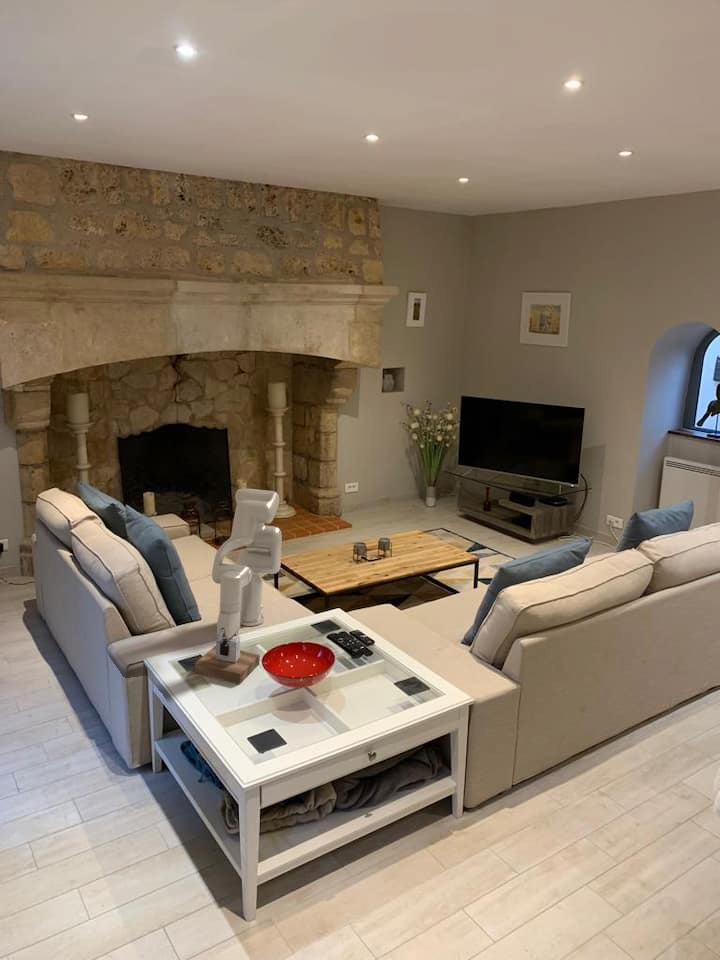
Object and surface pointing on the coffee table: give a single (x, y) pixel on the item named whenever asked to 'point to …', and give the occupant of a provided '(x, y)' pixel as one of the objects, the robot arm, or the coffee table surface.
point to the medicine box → (233, 649)
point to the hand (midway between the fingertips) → (228, 650)
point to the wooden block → (227, 666)
